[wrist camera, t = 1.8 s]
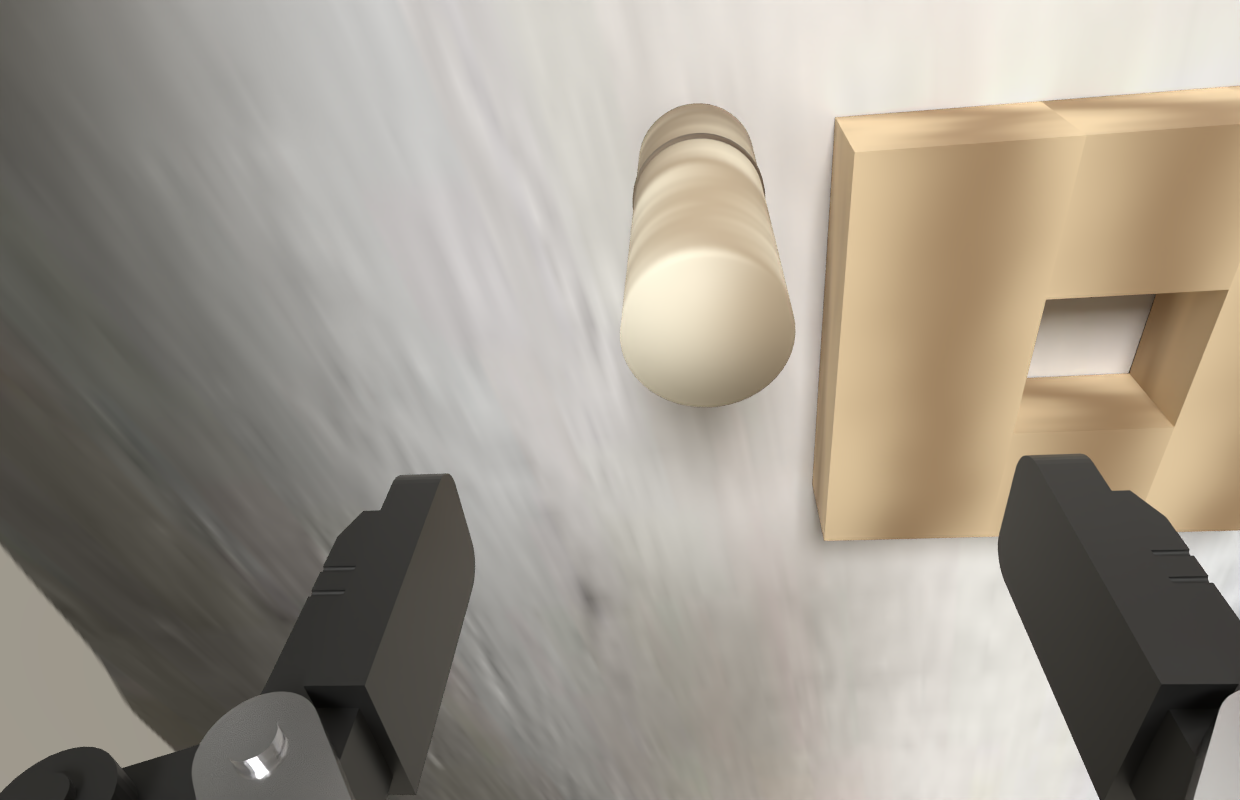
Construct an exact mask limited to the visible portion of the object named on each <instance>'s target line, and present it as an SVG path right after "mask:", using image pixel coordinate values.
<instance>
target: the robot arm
mask: <svg viewBox="0 0 1240 800" xmlns="http://www.w3.org/2000/svg"><path fill="white" fill-rule="evenodd" d="M998 556H999V563H1000V568H1001V572H1002V576H1003V578H1004V581H1005V583H1006V586H1007V588H1008V590H1009V593H1010V595H1011V597H1012V599H1013V602H1014V604H1015V606H1016V609H1017V611H1018V613H1019V616H1020V618H1021V620H1022V622H1023V625H1024V627H1025V629H1026V632H1027V634H1028V636H1029V638H1030V641H1031V643H1032V645H1033V648H1034V650H1035V652H1036V655H1037V657H1038V659H1039V661H1040V664H1041V666H1042V668H1043V671H1044V673H1045V675H1046V678H1047V680H1048V682H1049V684H1050V687H1051V689H1052V691H1053V694H1054V696H1055V698H1056V700H1057V703H1058V705H1059V707H1060V710H1061V712H1062V714H1063V717H1064V719H1065V721H1066V723H1067V726H1068V728H1069V730H1070V733H1071V735H1072V737H1073V739H1074V742H1075V744H1076V746H1077V749H1078V751H1079V753H1080V756H1081V758H1082V760H1083V762H1084V765H1085V767H1086V769H1087V772H1088V774H1089V776H1090V779H1091V781H1092V783H1093V785H1094V788H1095V790H1096V792H1097V795H1098V797H1099V799H1100V800H1240V620H1239V618H1238V617H1237V616H1236V614H1235V613H1234V611H1233V610H1232V609H1231V607H1230V606H1229V604H1228V603H1227V602H1226V600H1225V599H1224V597H1223V596H1222V595H1221V593H1220V592H1219V590H1218V589H1217V588H1216V586H1215V585H1214V583H1209V581H1208V575H1207V574H1206V572H1205V571H1204V569H1203V568H1202V567H1201V565H1200V564H1199V562H1198V561H1197V559H1196V558H1195V557H1194V556H1190V554H1189V548H1188V547H1187V545H1186V544H1185V543H1184V541H1183V540H1182V538H1181V537H1180V536H1179V534H1178V533H1177V531H1176V530H1175V529H1174V527H1173V526H1172V524H1171V523H1170V522H1169V520H1168V519H1167V517H1165V516H1164V515H1163V514H1161V513H1160V512H1159V511H1157V510H1156V509H1155V508H1153V507H1152V506H1151V505H1149V504H1148V503H1147V502H1145V501H1144V500H1143V499H1141V498H1140V497H1139V496H1137V495H1136V494H1134V493H1133V492H1132V491H1130V490H1120V491H1112V490H1111V489H1110V487H1109V486H1108V484H1107V483H1106V481H1105V480H1104V478H1103V477H1102V475H1101V474H1100V472H1099V471H1098V469H1097V468H1096V466H1095V465H1094V463H1093V462H1092V460H1091V459H1090V458H1089V457H1088V456H1087V455H1085V454H1081V453H1079V454H1050V455H1025V456H1022V457H1021V458H1020V459H1019V461H1018V463H1017V466H1016V469H1015V473H1014V477H1013V481H1012V485H1011V489H1010V493H1009V496H1008V500H1007V504H1006V508H1005V512H1004V516H1003V520H1002V524H1001V528H1000V532H999V538H998ZM323 567H324V571H323V572H320V574H319V576H318V578H317V580H316V582H315V584H314V587H313V589H312V596H311V597H308V599H307V601H306V603H305V605H304V607H303V609H302V611H301V613H300V615H299V617H298V620H297V622H296V624H295V626H294V628H293V630H292V632H291V634H290V636H289V638H288V640H287V642H286V644H285V646H284V648H283V650H282V653H281V655H280V657H279V659H278V661H277V663H276V665H275V667H274V669H273V671H272V673H271V675H270V677H269V679H268V681H267V683H266V686H265V687H264V689H263V691H262V693H261V694H260V695H259V696H256V697H253V698H251V699H249V700H247V701H245V702H243V703H241V704H239V705H238V706H236V707H234V708H233V709H232V710H230V711H229V712H228V713H226V714H225V715H224V716H223V717H222V718H220V719H219V720H218V721H217V722H216V723H215V724H214V725H213V727H212V728H211V729H210V730H209V731H208V732H207V734H206V735H205V737H204V738H203V740H202V741H201V743H200V744H198V745H196V746H193V747H190V748H187V749H184V750H181V751H177V752H174V753H171V754H167V755H164V756H161V757H157V758H154V759H151V760H148V761H144V762H141V763H138V764H134V765H131V766H128V767H125V768H121V767H120V766H119V765H118V763H117V762H116V761H115V760H114V759H113V758H112V757H111V756H110V755H109V753H107V752H106V751H104V750H102V749H99V748H95V747H78V748H72V749H68V750H65V751H61V752H59V753H57V754H54V755H51V756H49V757H47V758H45V759H44V760H42V761H40V762H38V763H36V764H35V765H33V766H32V767H30V768H28V769H27V770H26V771H25V772H23V773H22V774H20V775H19V776H18V777H17V778H15V779H14V780H13V781H12V782H11V783H10V784H9V785H8V786H7V787H6V788H5V789H4V790H3V791H2V792H1V793H0V800H386V799H387V795H416V793H417V789H418V786H419V782H420V778H421V775H422V771H423V767H424V764H425V760H426V756H427V753H428V749H429V745H430V742H431V738H432V735H433V731H434V727H435V724H436V720H437V716H438V713H439V709H440V705H441V702H442V698H443V694H444V691H445V687H446V683H447V680H448V676H449V672H450V669H451V665H452V661H453V658H454V654H455V650H456V647H457V643H458V639H459V636H460V632H461V628H462V625H463V621H464V617H465V614H466V610H467V606H468V603H469V599H470V595H471V592H472V588H473V583H474V575H475V556H474V548H473V544H472V540H471V537H470V533H469V530H468V526H467V523H466V520H465V516H464V513H463V509H462V506H461V502H460V499H459V495H458V492H457V488H456V485H455V482H454V480H453V478H452V476H451V475H450V474H420V475H400V476H398V477H396V478H395V480H394V481H393V483H392V485H391V488H390V490H389V492H388V494H387V497H386V499H385V501H384V503H383V506H382V508H381V510H380V511H363V512H362V513H361V514H360V515H359V516H358V517H357V518H356V519H355V520H354V521H353V522H352V523H351V524H350V525H349V526H348V527H347V528H346V529H345V530H344V531H343V532H342V533H341V534H340V535H339V536H338V537H337V539H336V541H335V543H334V545H333V547H332V549H331V551H330V554H329V556H328V558H327V560H326V562H325V564H324V566H323Z"/></svg>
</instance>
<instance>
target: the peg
mask: <svg viewBox="0 0 1240 800" xmlns="http://www.w3.org/2000/svg"><path fill="white" fill-rule="evenodd" d="M794 340H795V321H794V316H793V311H792V307H791V303H790V299H789V295H788V290H787V286H786V282H785V278H784V274H783V270H782V266H781V262H780V258H779V254H778V249H777V245H776V241H775V237H774V233H773V229H772V225H771V221H770V217H769V212H768V208H767V204H766V200H765V189H764V184H763V179H762V176H761V173H760V170H759V168H758V166H757V163H756V159H755V155H754V151H753V147H752V143H751V140H750V137H749V135H748V133H747V131H746V129H745V128H744V126H743V125H742V124H741V122H740V121H739V120H738V119H737V118H736V117H734V116H733V115H732V114H731V113H729V112H727V111H726V110H724V109H722V108H719V107H717V106H713V105H710V104H702V103H698V104H687V105H683V106H680V107H677V108H675V109H672V110H670V111H669V112H667V113H665V114H664V115H663V116H661V117H660V118H659V119H658V120H657V121H656V122H655V123H654V124H653V125H652V126H651V128H650V129H649V130H648V132H647V134H646V135H645V137H644V140H643V142H642V145H641V149H640V154H639V163H638V172H637V178H636V181H635V185H634V192H633V218H632V227H631V236H630V245H629V254H628V264H627V273H626V282H625V291H624V300H623V309H622V318H621V328H620V343H621V348H622V352H623V355H624V358H625V361H626V363H627V365H628V366H629V368H630V370H631V371H632V373H633V374H634V376H635V377H636V378H637V379H638V380H639V381H640V382H641V383H642V384H643V385H644V386H645V387H646V388H648V389H649V390H650V391H652V392H653V393H655V394H657V395H658V396H660V397H662V398H664V399H666V400H669V401H672V402H674V403H677V404H682V405H686V406H693V407H718V406H724V405H729V404H733V403H736V402H739V401H742V400H744V399H746V398H749V397H751V396H753V395H754V394H756V393H758V392H759V391H761V390H762V389H764V388H765V387H766V386H768V385H769V384H770V383H771V382H772V381H773V380H774V379H775V378H776V377H777V376H778V375H779V373H780V372H781V371H782V370H783V368H784V366H785V365H786V363H787V361H788V359H789V357H790V355H791V352H792V349H793V345H794Z"/></svg>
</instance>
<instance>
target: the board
mask: <svg viewBox="0 0 1240 800" xmlns="http://www.w3.org/2000/svg"><path fill="white" fill-rule="evenodd" d="M1140 294H1156V296H1155V299H1154V302H1153V305H1152V308H1151V311H1150V314H1149V317H1148V320H1147V323H1146V326H1145V329H1144V332H1143V334H1142V337H1141V340H1140V343H1139V346H1138V349H1137V352H1136V355H1135V358H1134V361H1133V364H1132V367H1131V370H1130V373H1128V374H1106V375H1084V376H1061V377H1039V378H1027V374H1028V370H1029V366H1030V362H1031V358H1032V354H1033V350H1034V346H1035V342H1036V338H1037V334H1038V330H1039V326H1040V322H1041V318H1042V314H1043V310H1044V306H1045V302H1046V300H1047V299H1066V298H1084V297H1103V296H1121V295H1140ZM1079 453H1081V454H1085V455H1087V456H1088V457H1089V458H1090V459H1091V460H1092V462H1093V463H1094V465H1095V466H1096V468H1097V469H1098V471H1099V472H1100V474H1101V475H1102V477H1103V478H1104V480H1105V481H1106V483H1107V484H1108V486H1109V487H1110V489H1111V490H1112V491H1120V490H1130V491H1132V492H1133V493H1134V494H1136V495H1137V496H1139V497H1140V498H1141V499H1143V500H1144V501H1145V502H1147V503H1148V504H1149V505H1151V506H1152V507H1153V508H1155V509H1156V510H1157V511H1159V512H1160V513H1161V514H1163V515H1164V516H1165V517H1167V519H1168V520H1169V522H1170V523H1171V524H1172V526H1173V527H1174V529H1175V530H1176V531H1177V532H1192V531H1231V530H1240V86H1231V87H1218V88H1205V89H1192V90H1180V91H1167V92H1154V93H1141V94H1129V95H1116V96H1103V97H1090V98H1078V99H1065V100H1052V101H1039V102H1027V103H1014V104H1001V105H988V106H975V107H963V108H950V109H937V110H924V111H912V112H899V113H886V114H873V115H861V116H848V117H835V131H834V147H833V163H832V179H831V194H830V210H829V226H828V242H827V258H826V274H825V290H824V306H823V322H822V338H821V354H820V370H819V386H818V402H817V418H816V434H815V450H814V466H813V482H812V485H813V490H814V495H815V499H816V504H817V509H818V514H819V518H820V523H821V528H822V533H823V538H824V541H838V540H877V539H916V538H956V537H995V536H999V532H1000V528H1001V524H1002V520H1003V516H1004V512H1005V508H1006V504H1007V500H1008V496H1009V493H1010V489H1011V485H1012V481H1013V477H1014V473H1015V469H1016V466H1017V463H1018V461H1019V459H1020V458H1021V457H1022V456H1025V455H1050V454H1079Z"/></svg>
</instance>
